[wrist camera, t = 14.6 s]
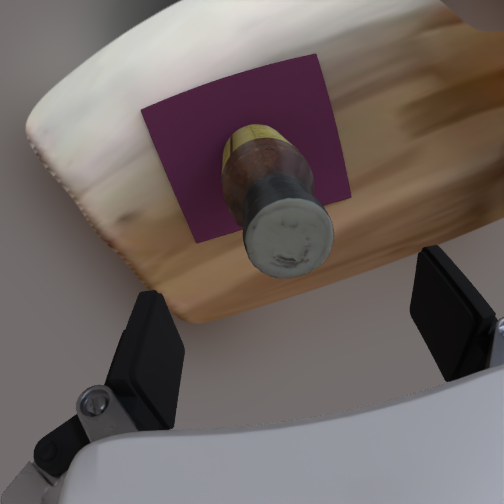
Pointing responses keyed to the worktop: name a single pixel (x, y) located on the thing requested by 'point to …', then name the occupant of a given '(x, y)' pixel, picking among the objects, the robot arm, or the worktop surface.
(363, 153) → the worktop surface
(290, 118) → the cloth
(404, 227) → the worktop surface
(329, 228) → the sauce bottle
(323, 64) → the worktop surface
